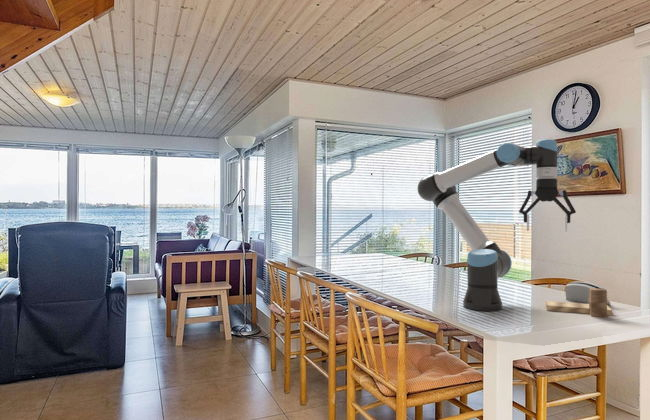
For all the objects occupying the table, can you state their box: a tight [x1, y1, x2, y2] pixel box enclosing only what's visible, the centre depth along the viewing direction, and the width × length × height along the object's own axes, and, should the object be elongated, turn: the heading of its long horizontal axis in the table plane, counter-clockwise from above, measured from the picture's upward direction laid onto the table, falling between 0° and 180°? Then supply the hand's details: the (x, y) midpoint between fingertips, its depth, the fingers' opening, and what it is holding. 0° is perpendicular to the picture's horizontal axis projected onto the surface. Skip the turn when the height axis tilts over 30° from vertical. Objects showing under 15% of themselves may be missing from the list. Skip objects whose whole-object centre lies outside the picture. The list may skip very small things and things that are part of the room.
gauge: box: [587, 288, 608, 318], centre depth 167 cm, size 5×15×10 cm, turn 157°
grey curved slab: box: [564, 281, 611, 306], centre depth 185 cm, size 17×5×10 cm, turn 28°
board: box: [544, 300, 613, 316], centre depth 170 cm, size 22×9×2 cm, turn 67°
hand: (546, 231), depth 173 cm, fingers open, 13 cm apart
